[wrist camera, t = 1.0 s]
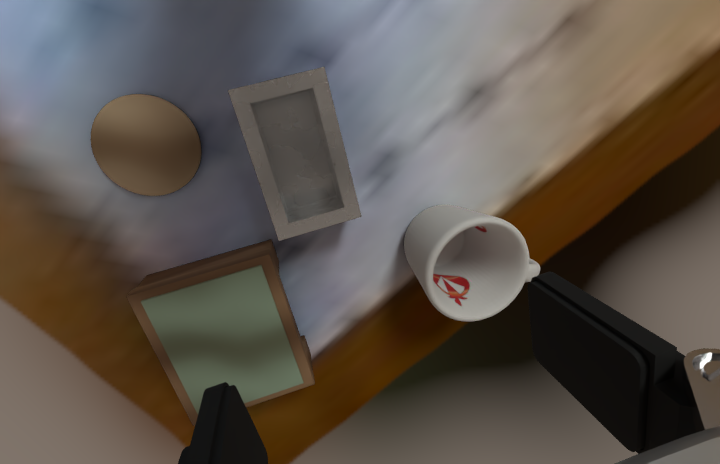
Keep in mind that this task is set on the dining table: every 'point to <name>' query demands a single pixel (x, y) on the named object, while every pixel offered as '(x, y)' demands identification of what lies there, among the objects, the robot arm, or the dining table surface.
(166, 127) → the coaster
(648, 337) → the robot arm
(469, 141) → the dining table surface
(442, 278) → the cup
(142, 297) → the stand
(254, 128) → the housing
